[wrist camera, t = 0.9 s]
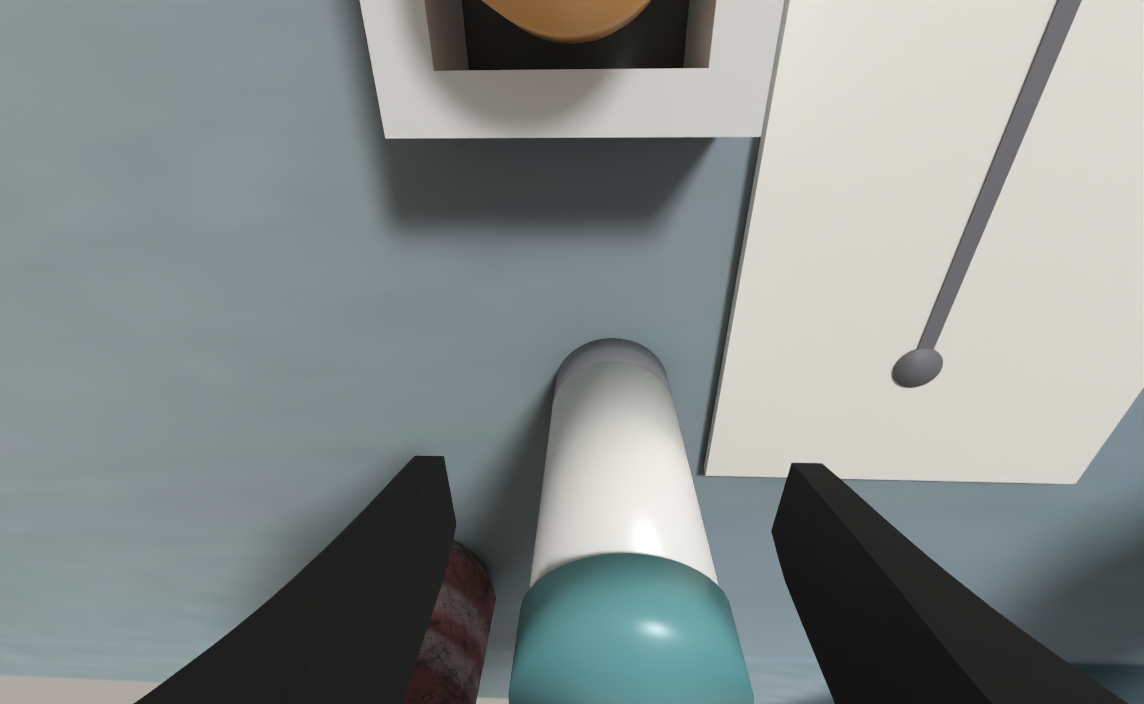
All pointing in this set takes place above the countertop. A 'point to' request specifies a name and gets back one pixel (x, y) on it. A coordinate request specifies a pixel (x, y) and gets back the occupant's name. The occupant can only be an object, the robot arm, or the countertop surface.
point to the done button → (569, 17)
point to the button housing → (570, 80)
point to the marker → (622, 551)
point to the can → (455, 635)
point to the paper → (940, 244)
